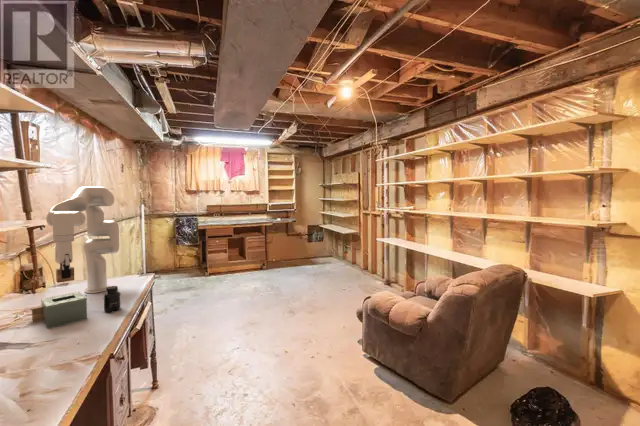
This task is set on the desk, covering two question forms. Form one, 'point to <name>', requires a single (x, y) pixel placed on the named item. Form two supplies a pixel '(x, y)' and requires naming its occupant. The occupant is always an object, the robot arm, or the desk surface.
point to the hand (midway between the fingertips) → (65, 277)
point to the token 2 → (59, 275)
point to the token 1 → (37, 313)
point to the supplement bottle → (111, 299)
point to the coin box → (63, 309)
